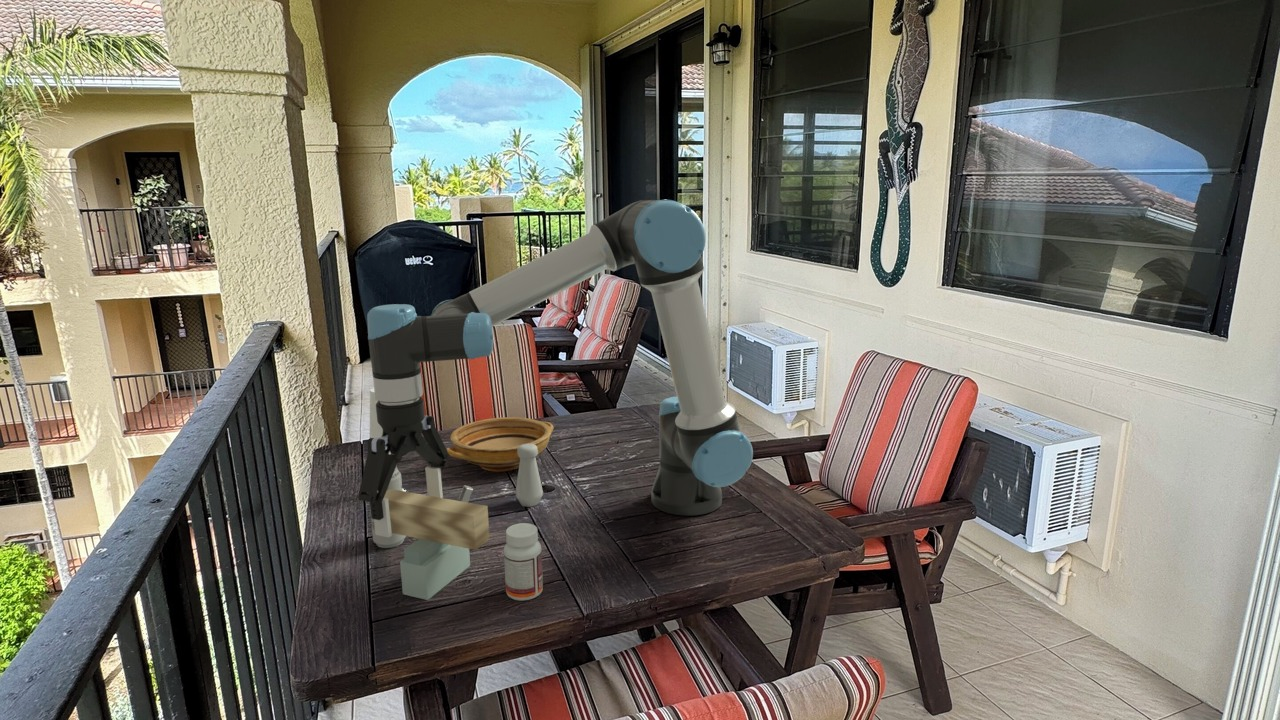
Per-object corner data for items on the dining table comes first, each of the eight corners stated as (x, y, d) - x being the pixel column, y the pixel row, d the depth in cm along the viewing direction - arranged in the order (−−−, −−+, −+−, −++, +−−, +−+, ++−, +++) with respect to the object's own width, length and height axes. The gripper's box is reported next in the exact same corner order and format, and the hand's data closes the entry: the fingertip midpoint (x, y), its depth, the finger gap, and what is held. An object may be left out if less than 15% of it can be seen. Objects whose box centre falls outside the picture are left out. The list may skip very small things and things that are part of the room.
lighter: (440, 532, 141) (438, 494, 140) (437, 529, 143) (435, 491, 141) (475, 523, 145) (473, 486, 143) (471, 520, 147) (469, 483, 145)
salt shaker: (538, 509, 151) (535, 451, 148) (512, 507, 152) (509, 449, 149) (547, 498, 157) (544, 441, 154) (522, 496, 158) (519, 440, 155)
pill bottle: (527, 578, 125) (524, 517, 122) (550, 591, 121) (548, 529, 118) (498, 592, 120) (494, 530, 118) (521, 606, 116) (518, 542, 114)
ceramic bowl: (477, 494, 159) (475, 460, 157) (423, 465, 176) (421, 434, 174) (581, 460, 179) (580, 429, 177) (523, 436, 196) (522, 408, 194)
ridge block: (470, 565, 129) (467, 522, 127) (427, 600, 118) (423, 553, 116) (446, 560, 131) (443, 517, 129) (402, 594, 120) (398, 548, 118)
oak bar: (489, 539, 121) (487, 506, 119) (475, 550, 117) (473, 516, 116) (393, 520, 128) (390, 488, 127) (377, 530, 124) (374, 497, 123)
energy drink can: (412, 541, 138) (406, 467, 135) (383, 552, 134) (376, 477, 130) (396, 531, 142) (389, 459, 139) (367, 542, 138) (360, 468, 134)
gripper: (428, 378, 132) (438, 486, 137) (324, 419, 109) (339, 547, 114) (463, 381, 129) (471, 492, 134) (363, 424, 106) (377, 555, 111)
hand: (411, 517), depth 124 cm, fingers open, 13 cm apart
